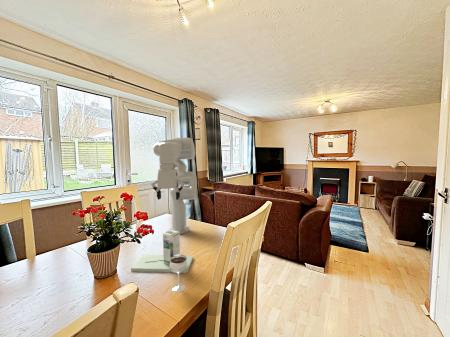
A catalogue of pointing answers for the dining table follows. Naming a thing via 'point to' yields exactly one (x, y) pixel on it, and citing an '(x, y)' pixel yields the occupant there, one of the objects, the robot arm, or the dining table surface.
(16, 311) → the dining table surface
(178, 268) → the wineglass
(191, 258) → the board
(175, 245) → the syrup box
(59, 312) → the dining table surface
